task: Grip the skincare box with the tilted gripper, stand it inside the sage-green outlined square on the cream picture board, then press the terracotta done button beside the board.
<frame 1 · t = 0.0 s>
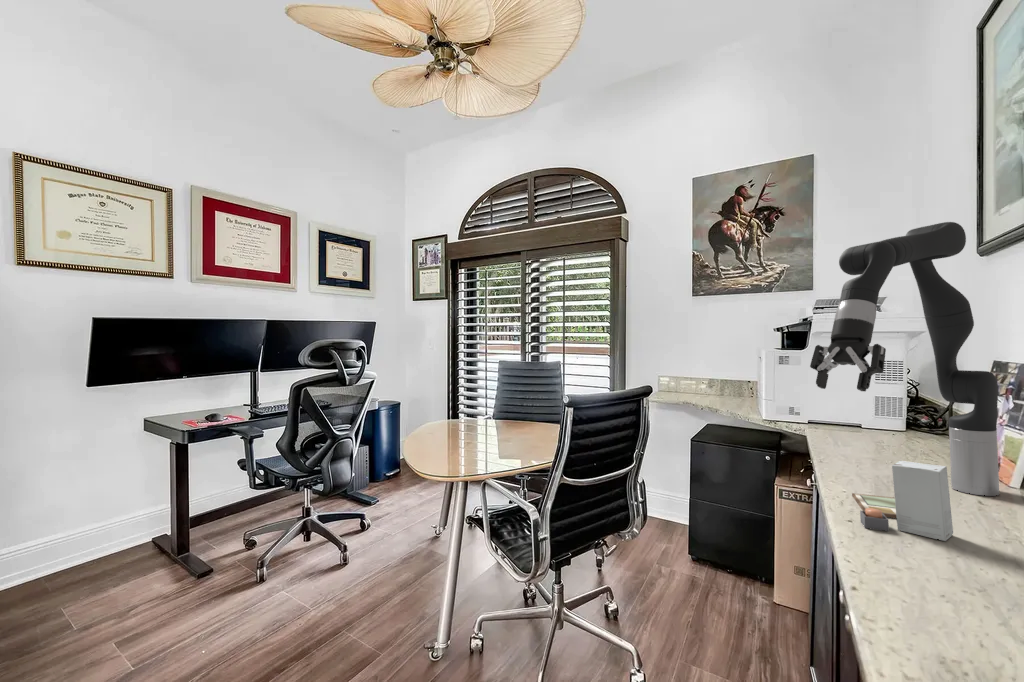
hand: (840, 389, 101), 31 cm above the countertop, tool tilted 20°, fingers open, 8 cm apart
skincare box: (923, 533, 97), on the countertop
picture board: (890, 508, 112), on the countertop
button housing: (874, 526, 101), on the countertop
done button: (873, 514, 101), point 3 cm above the countertop, slide at 0.0 cm
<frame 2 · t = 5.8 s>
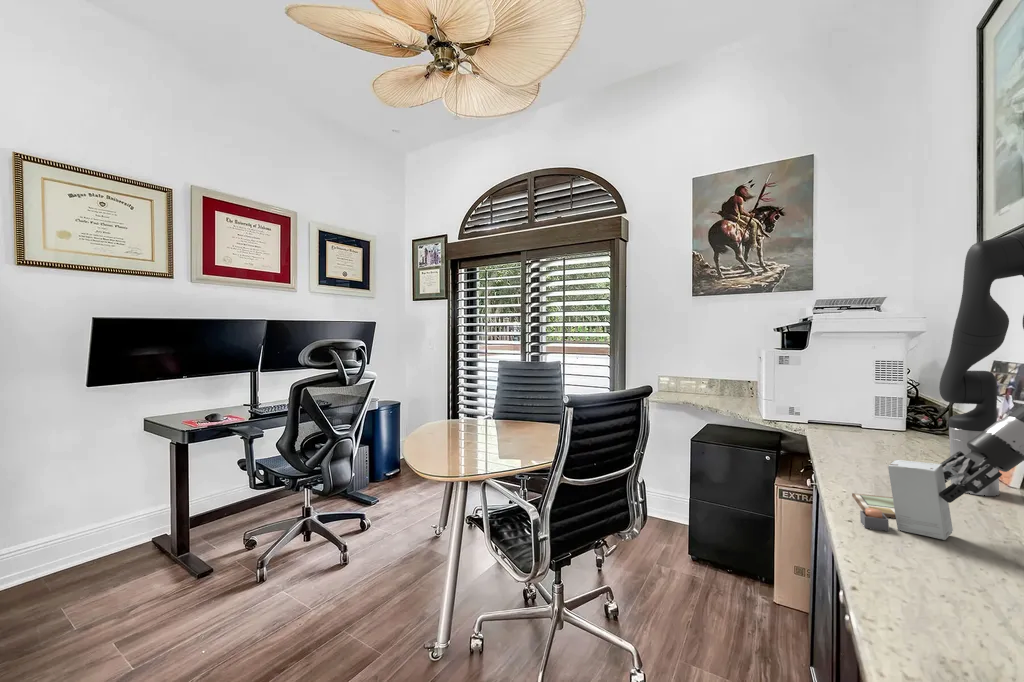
hand: (935, 492, 96), 9 cm above the countertop, tool tilted 45°, fingers open, 8 cm apart
skincare box: (923, 532, 97), on the countertop, touching gripper
everything else where it was.
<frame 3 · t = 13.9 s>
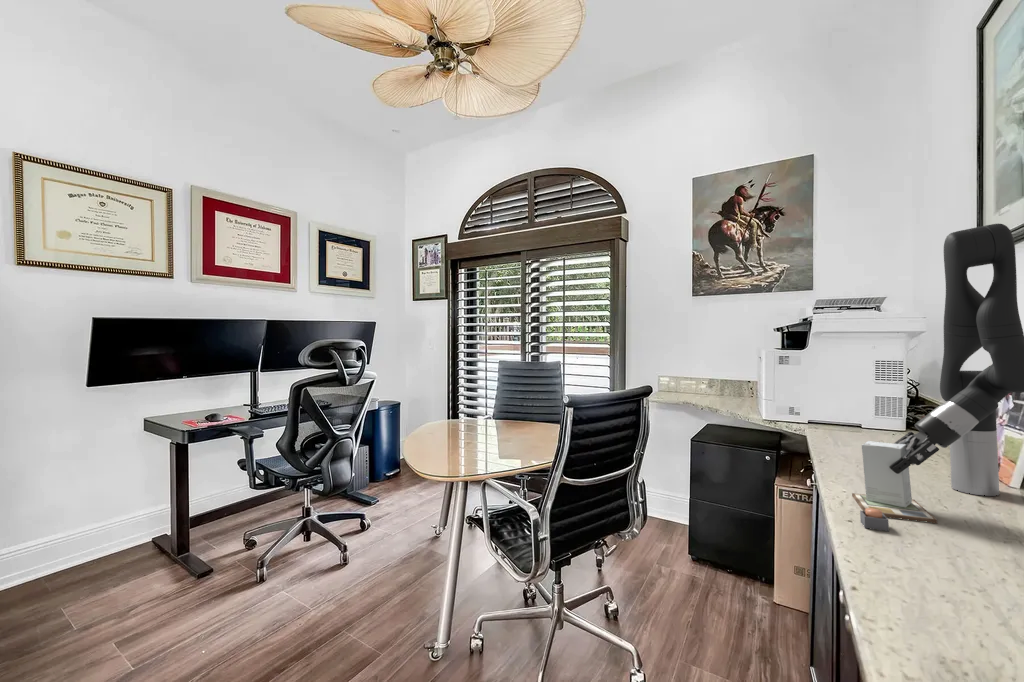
hand: (887, 466, 113), 10 cm above the countertop, tool tilted 45°, fingers open, 8 cm apart
skincare box: (887, 502, 114), point 1 cm above the countertop, touching picture board
everything else where it was.
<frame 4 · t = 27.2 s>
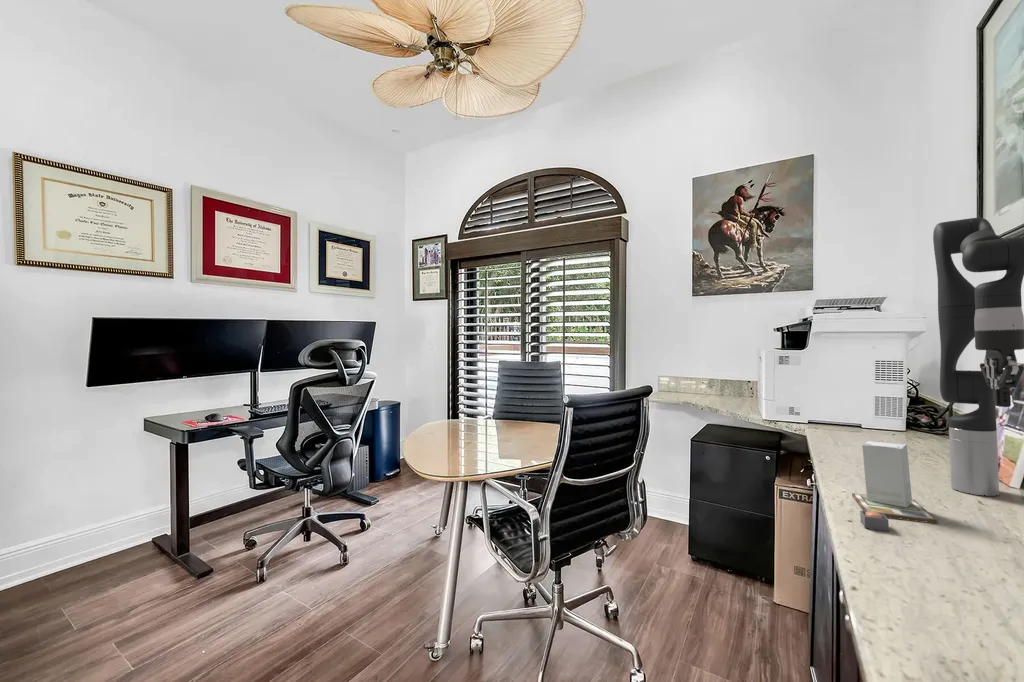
hand: (1002, 406, 99), 27 cm above the countertop, tool pointing down, fingers closed
done button: (873, 517, 101), point 2 cm above the countertop, slide at 0.8 cm
everything else where it was.
at the end: skincare box inside the target area (0.4 cm from its centre), point 0.7 cm above the countertop; skincare box tilted 0°; done button slide at 0.8 cm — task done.
